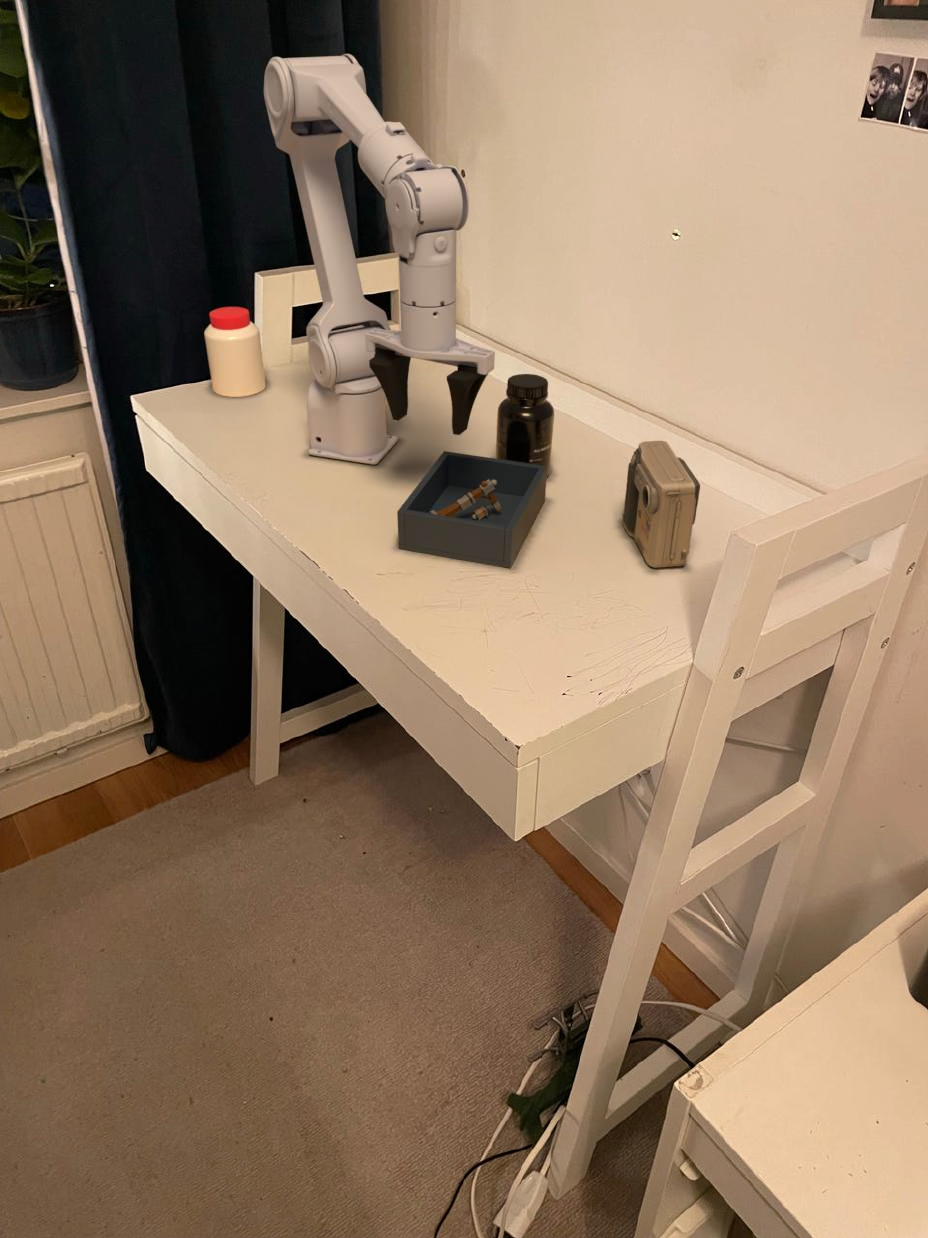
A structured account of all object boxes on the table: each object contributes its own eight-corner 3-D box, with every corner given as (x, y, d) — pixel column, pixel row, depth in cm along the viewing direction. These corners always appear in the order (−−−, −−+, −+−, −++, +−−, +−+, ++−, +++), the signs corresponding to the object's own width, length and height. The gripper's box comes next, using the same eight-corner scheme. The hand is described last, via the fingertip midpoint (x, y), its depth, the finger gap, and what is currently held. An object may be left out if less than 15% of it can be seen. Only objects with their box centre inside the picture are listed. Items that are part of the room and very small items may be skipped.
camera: (617, 519, 107) (627, 438, 101) (667, 517, 107) (679, 437, 102) (640, 572, 98) (652, 487, 92) (694, 571, 98) (709, 485, 92)
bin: (398, 548, 101) (397, 511, 99) (443, 485, 113) (443, 450, 111) (510, 568, 98) (512, 530, 96) (545, 501, 110) (547, 465, 108)
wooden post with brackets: (511, 508, 106) (497, 478, 103) (451, 546, 105) (435, 517, 102) (504, 501, 107) (490, 471, 104) (445, 538, 106) (429, 509, 103)
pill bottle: (260, 397, 135) (251, 321, 129) (207, 396, 135) (195, 320, 129) (270, 377, 142) (261, 304, 135) (219, 376, 142) (208, 303, 135)
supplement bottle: (546, 488, 113) (552, 393, 106) (490, 482, 114) (493, 388, 107) (553, 464, 118) (559, 372, 112) (500, 458, 120) (503, 367, 113)
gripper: (509, 299, 95) (504, 424, 103) (388, 279, 101) (392, 399, 108) (477, 318, 90) (475, 448, 98) (351, 296, 95) (359, 420, 103)
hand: (429, 424), depth 103 cm, fingers open, 7 cm apart
